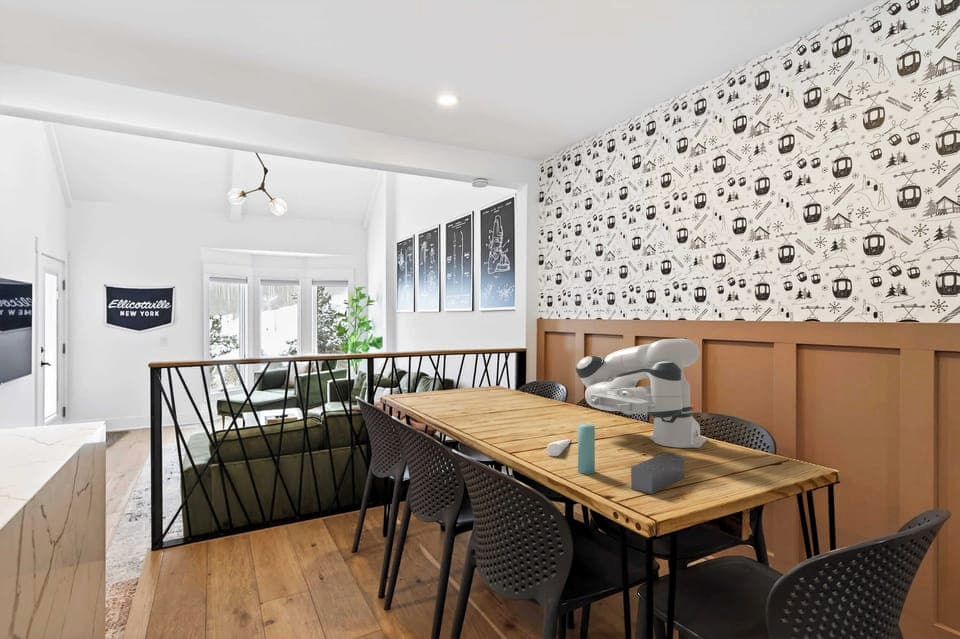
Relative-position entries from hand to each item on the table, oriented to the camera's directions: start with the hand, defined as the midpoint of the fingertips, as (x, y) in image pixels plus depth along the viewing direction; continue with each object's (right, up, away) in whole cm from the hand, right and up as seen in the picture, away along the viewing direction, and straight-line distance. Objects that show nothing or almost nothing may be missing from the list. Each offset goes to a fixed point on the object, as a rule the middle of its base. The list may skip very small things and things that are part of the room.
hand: (604, 404), depth 157 cm
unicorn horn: (-11, -19, +18) cm, 29 cm away
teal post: (-8, -19, -8) cm, 22 cm away
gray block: (+10, -19, -19) cm, 28 cm away
